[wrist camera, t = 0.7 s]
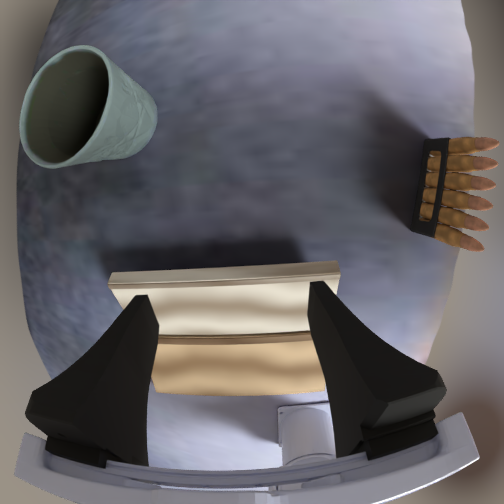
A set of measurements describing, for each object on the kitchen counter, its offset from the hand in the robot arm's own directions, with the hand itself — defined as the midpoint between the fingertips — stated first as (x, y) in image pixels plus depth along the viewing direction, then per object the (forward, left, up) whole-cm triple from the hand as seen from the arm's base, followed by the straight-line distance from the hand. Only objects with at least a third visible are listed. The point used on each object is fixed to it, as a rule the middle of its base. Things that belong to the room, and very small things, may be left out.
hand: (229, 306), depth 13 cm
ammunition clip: (+4, -20, -18) cm, 27 cm away
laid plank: (-16, +3, -18) cm, 24 cm away
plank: (-6, +3, -16) cm, 17 cm away
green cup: (+13, +13, -18) cm, 26 cm away
